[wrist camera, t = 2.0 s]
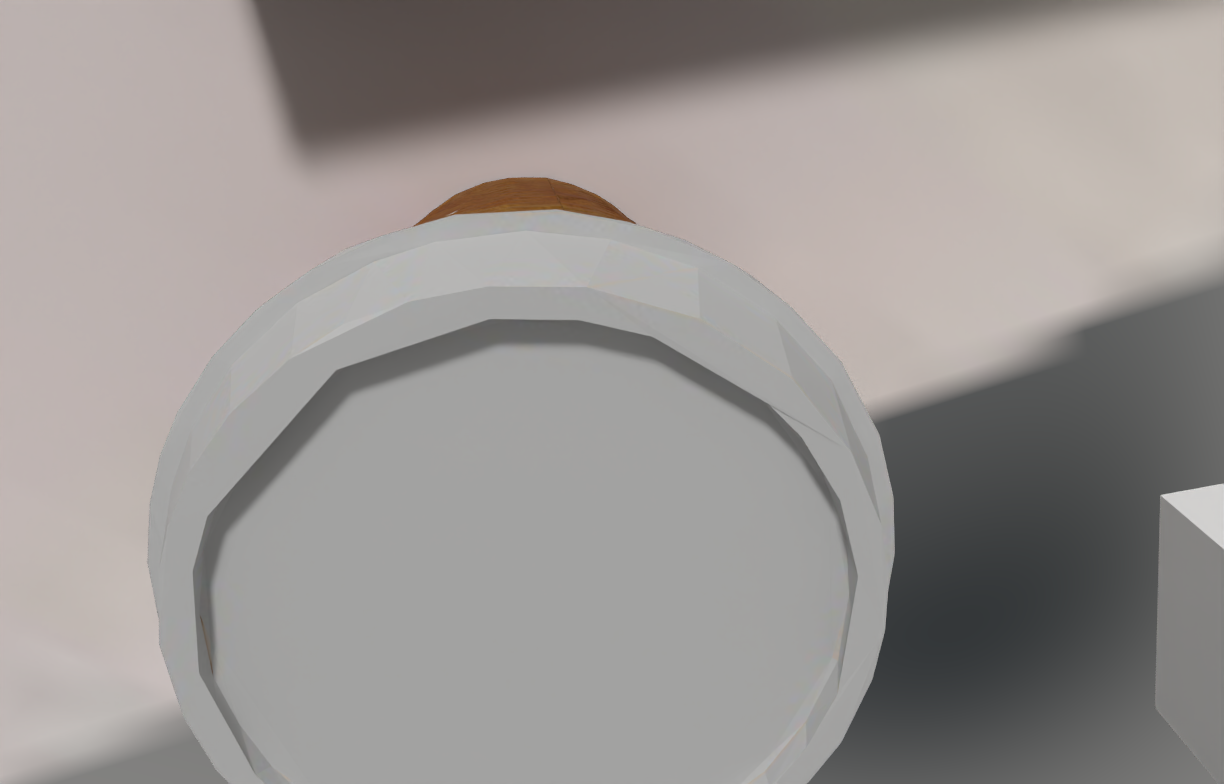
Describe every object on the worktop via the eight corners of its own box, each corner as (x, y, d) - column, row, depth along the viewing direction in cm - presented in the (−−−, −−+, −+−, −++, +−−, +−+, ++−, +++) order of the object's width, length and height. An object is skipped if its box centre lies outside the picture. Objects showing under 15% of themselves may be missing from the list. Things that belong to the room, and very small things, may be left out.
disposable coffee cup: (673, 35, 22) (830, 113, 11) (784, 438, 25) (987, 812, 14) (233, 181, 22) (-57, 404, 11) (404, 558, 26) (314, 1011, 15)
